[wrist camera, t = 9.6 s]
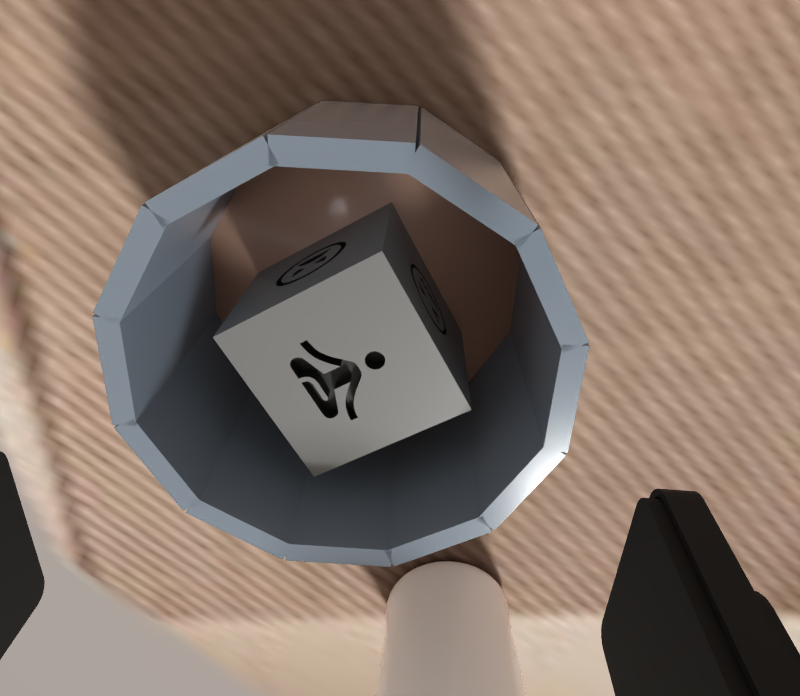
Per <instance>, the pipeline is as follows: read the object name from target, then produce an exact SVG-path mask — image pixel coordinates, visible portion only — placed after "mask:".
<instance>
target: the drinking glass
mask: <svg viewBox="0 0 800 696" xmlns="http://www.w3.org/2000/svg"><path fill="white" fill-rule="evenodd" d="M375 696H527V693H526V689H525V685H524V681H523V677H522V672H521V668H520V664H519V660H518V656H517V652H516V647H515V643H514V639H513V634H512V628H511V621H510V614H509V608H508V603H507V600H506V597H505V594H504V592H503V590H502V589H501V587H500V586H499V584H498V583H497V582H496V581H495V580H494V579H493V578H492V577H491V576H490V575H489V574H487V573H486V572H484V571H483V570H481V569H479V568H477V567H474V566H472V565H469V564H465V563H461V562H454V561H439V562H432V563H428V564H424V565H421V566H419V567H417V568H414V569H412V570H411V571H409V572H408V573H406V574H405V575H404V576H402V577H401V578H400V579H399V580H398V582H397V583H396V584H395V585H394V587H393V589H392V590H391V592H390V595H389V597H388V601H387V607H386V618H385V633H384V642H383V648H382V655H381V661H380V668H379V674H378V680H377V687H376V693H375Z"/></svg>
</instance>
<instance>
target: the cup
mask: <svg viewBox="0 0 800 696" xmlns="http://www.w3.org/2000/svg"><path fill="white" fill-rule="evenodd" d="M418 109H419V106H414V105H397V104H379V103H361V102H344V101H326V100H323V101H321V102H320V101H319V102H317V103H316V104H314V105H312V106H310V107H309V108H307V109H305V110H303V111H302V112H300V113H298V114H296V115H294V116H293V117H291V118H289V119H287V120H286V121H284V122H282V123H280V124H279V125H277V126H275V127H273V128H271V129H270V130H268V131H266V132H264V133H263V134H261V135H259V136H257V137H256V138H254V139H252V140H250V141H248V142H247V143H245V144H243V145H241V146H240V147H238V148H236V149H235V150H233V151H231V152H229V153H228V154H226V155H224V156H223V157H221V158H219V159H217V160H216V161H214V162H212V163H211V164H209V165H207V166H206V167H204V168H202V169H200V170H199V171H197V172H195V173H194V174H192V175H190V176H188V177H187V178H185V179H183V180H182V181H180V182H178V183H177V184H175V185H173V186H171V187H170V188H168V189H166V190H165V191H163V192H161V193H159V194H158V195H156V196H154V197H153V198H151V199H149V200H148V201H146V202H145V204H143V205H142V206H141V208H140V211H139V213H138V215H137V217H136V219H135V221H134V224H133V226H132V228H131V230H130V232H129V235H128V237H127V239H126V241H125V243H124V246H123V248H122V250H121V252H120V254H119V256H118V259H117V261H116V263H115V265H114V267H113V270H112V272H111V274H110V276H109V278H108V281H107V283H106V285H105V287H104V289H103V291H102V294H101V296H100V298H99V300H98V302H97V305H96V307H95V309H94V311H93V313H94V314H95V315H94V316H92V317H93V323H94V328H95V333H96V339H97V344H98V350H99V355H100V360H101V366H102V371H103V377H104V382H105V388H106V393H107V398H108V404H109V409H110V415H111V420H112V424H113V425H116V426H115V427H114V428H115V430H116V431H117V432H118V433H119V434H120V436H121V437H122V438H123V439H124V440H125V442H126V443H127V444H128V445H129V446H130V448H131V449H132V450H133V451H134V452H135V454H136V455H137V456H138V457H139V458H140V460H141V461H142V462H143V463H144V464H145V466H146V467H147V468H148V469H149V470H150V472H151V473H152V474H153V475H154V476H155V478H156V479H157V480H158V481H159V482H160V484H161V485H162V486H163V487H164V488H165V490H166V491H167V492H168V493H169V494H170V496H171V497H172V498H173V499H174V500H175V502H176V503H177V504H178V505H179V506H180V508H181V509H182V510H186V509H188V510H187V512H186V513H187V514H189V515H192V516H194V517H196V518H198V519H200V520H202V521H204V522H206V523H208V524H210V525H212V526H214V527H216V528H218V529H220V530H222V531H225V532H227V533H229V534H231V535H233V536H235V537H237V538H239V539H241V540H243V541H245V542H247V543H249V544H251V545H253V546H256V547H258V548H260V549H262V550H264V551H266V552H268V553H270V554H272V555H274V556H276V557H278V558H280V559H283V558H284V556H286V560H288V561H304V562H320V563H336V564H352V565H367V566H383V567H391V562H392V564H393V565H394V566H397V565H400V564H403V563H406V562H408V561H411V560H414V559H417V558H420V557H423V556H425V555H428V554H431V553H434V552H437V551H439V550H442V549H445V548H448V547H451V546H454V545H456V544H459V543H462V542H465V541H468V540H470V539H473V538H476V537H479V536H482V535H485V534H487V533H490V532H492V529H494V530H495V529H496V528H497V527H498V526H499V525H500V524H501V523H502V522H503V521H504V520H505V519H506V518H507V517H508V516H509V515H510V514H511V513H512V511H513V510H514V509H515V508H516V507H517V506H518V505H519V504H520V503H521V502H522V501H523V500H524V499H525V498H526V497H527V496H528V495H529V494H530V493H531V492H532V490H533V489H534V488H535V487H536V486H537V485H538V484H539V483H540V482H541V481H542V480H543V479H544V478H545V477H546V476H547V475H548V474H549V473H550V472H551V471H552V469H553V468H554V467H555V466H556V465H557V464H558V463H559V462H560V461H561V460H562V459H563V458H564V457H565V456H566V454H565V452H568V448H569V443H570V438H571V433H572V428H573V423H574V419H575V414H576V409H577V404H578V399H579V394H580V389H581V385H582V380H583V375H584V370H585V365H586V360H587V355H588V351H589V345H588V343H589V341H588V339H587V336H586V334H585V332H584V329H583V327H582V324H581V322H580V320H579V317H578V315H577V313H576V310H575V308H574V306H573V303H572V301H571V298H570V296H569V294H568V291H567V289H566V287H565V284H564V282H563V279H562V277H561V275H560V272H559V270H558V268H557V265H556V263H555V261H554V258H553V256H552V253H551V251H550V249H549V246H548V244H547V242H546V239H545V237H544V234H543V232H542V230H541V228H540V226H539V224H538V223H537V221H536V220H535V218H534V216H533V215H532V213H531V211H530V210H529V208H528V207H527V205H526V203H525V202H524V200H523V198H522V197H521V195H520V193H519V192H518V190H517V189H516V187H515V185H514V184H513V182H512V180H511V179H510V177H509V176H508V174H507V172H506V171H505V169H504V167H503V166H502V164H501V163H500V162H499V160H497V159H496V158H494V157H493V156H491V155H490V154H489V153H487V152H486V151H484V150H483V149H481V148H480V147H479V146H477V145H476V144H474V143H473V142H471V141H470V140H469V139H467V138H466V137H464V136H463V135H461V134H460V133H458V132H457V131H456V130H454V129H453V128H451V127H450V126H448V125H447V124H446V123H444V122H443V121H441V120H440V119H438V118H437V117H436V116H434V115H433V114H431V113H430V112H428V111H427V110H426V109H424V108H423V107H421V109H420V110H419V112H418ZM391 202H392V204H393V205H394V207H395V209H396V211H397V213H398V215H399V217H400V218H401V220H402V222H403V224H404V226H405V228H406V230H407V231H408V233H409V235H410V237H411V239H412V241H413V243H414V244H415V246H416V248H417V250H418V252H419V254H420V256H421V257H422V259H423V261H424V263H425V265H426V267H427V269H428V270H429V272H430V274H431V276H432V278H433V280H434V282H435V283H436V285H437V287H438V289H439V291H440V293H441V295H442V296H443V298H444V300H445V302H446V304H447V306H448V308H449V309H450V311H451V313H452V315H453V317H454V319H455V321H456V322H457V324H458V326H459V328H460V330H461V332H462V339H463V347H464V354H465V362H466V370H467V378H468V385H469V393H470V401H471V409H472V410H470V411H468V412H465V413H463V414H460V415H458V416H456V417H453V418H451V419H449V420H446V421H444V422H442V423H439V424H437V425H435V426H432V427H430V428H428V429H425V430H423V431H421V432H418V433H416V434H413V435H411V436H409V437H406V438H404V439H402V440H399V441H397V442H395V443H392V444H390V445H388V446H385V447H383V448H381V449H378V450H376V451H374V452H371V453H369V454H367V455H364V456H362V457H359V458H357V459H355V460H352V461H350V462H348V463H345V464H343V465H341V466H338V467H336V468H334V469H331V470H329V471H327V472H324V473H322V474H320V475H317V476H315V477H314V476H313V475H312V473H311V472H310V471H309V469H308V468H307V466H306V465H305V464H304V462H303V461H302V460H301V458H300V457H299V455H298V454H297V453H296V451H295V450H294V449H293V447H292V446H291V444H290V443H289V442H288V440H287V439H286V438H285V436H284V435H283V433H282V432H281V431H280V429H279V428H278V427H277V425H276V424H275V422H274V421H273V420H272V418H271V417H270V416H269V414H268V413H267V411H266V410H265V409H264V407H263V406H262V405H261V403H260V402H259V400H258V399H257V398H256V396H255V395H254V394H253V392H252V391H251V389H250V388H249V387H248V385H247V384H246V383H245V381H244V380H243V378H242V377H241V376H240V374H239V373H238V372H237V370H236V369H235V367H234V366H233V365H232V363H231V362H230V361H229V359H228V358H227V356H226V355H225V354H224V352H223V351H222V350H221V348H220V347H219V345H218V344H217V343H216V341H215V340H214V339H213V336H214V335H215V333H216V332H217V331H218V329H219V328H220V326H221V325H222V323H223V322H224V321H225V319H226V318H227V316H228V315H229V314H230V312H231V311H232V309H233V308H234V307H235V305H236V304H237V302H238V301H239V299H240V298H241V297H242V295H243V294H244V292H245V291H246V290H247V288H248V287H249V285H250V284H251V283H252V281H253V280H254V278H255V277H256V275H257V274H258V273H259V272H261V271H262V270H264V269H266V268H268V267H270V266H272V265H274V264H276V263H278V262H279V261H281V260H283V259H285V258H287V257H289V256H291V255H293V254H295V253H296V252H298V251H300V250H302V249H304V248H306V247H308V246H310V245H312V244H313V243H315V242H317V241H319V240H321V239H323V238H325V237H327V236H328V235H330V234H332V233H334V232H336V231H338V230H340V229H342V228H344V227H345V226H347V225H349V224H351V223H353V222H355V221H357V220H359V219H361V218H362V217H364V216H366V215H368V214H370V213H372V212H374V211H376V210H378V209H379V208H381V207H383V206H385V205H387V204H389V203H391ZM491 528H492V529H491Z"/></svg>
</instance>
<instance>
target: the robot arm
mask: <svg viewBox="0 0 800 696" xmlns="http://www.w3.org/2000/svg"><path fill="white" fill-rule="evenodd" d="M43 590H44V576H43V573H42V570H41V567H40V563H39V560H38V557H37V553H36V550H35V547H34V544H33V540H32V537H31V534H30V531H29V528H28V524H27V521H26V518H25V514H24V511H23V508H22V505H21V501H20V498H19V495H18V492H17V488H16V485H15V482H14V479H13V475H12V472H11V469H10V466H9V462H8V459H7V457H6V455H5V454H4V453H3V452H0V659H1V658H2V656H3V655H4V653H5V652H6V650H7V649H8V647H9V646H10V645H11V643H12V642H13V640H14V639H15V637H16V636H17V634H18V633H19V631H20V630H21V628H22V627H23V625H24V624H25V623H26V621H27V620H28V618H29V617H30V615H31V613H32V612H33V611H34V609H35V608H36V606H37V605H38V603H39V601H40V599H41V597H42V594H43ZM601 638H602V645H603V650H604V654H605V658H606V662H607V665H608V669H609V673H610V677H611V681H612V685H613V688H614V692H615V696H800V654H799V652H798V651H797V649H796V647H795V645H794V644H793V642H792V640H791V638H790V637H789V635H788V633H787V631H786V630H785V628H784V626H783V624H782V623H781V621H780V619H779V617H778V616H777V614H776V612H775V610H774V608H773V607H772V606H771V604H770V603H769V602H768V600H767V599H766V598H765V597H764V596H763V595H761V594H760V593H759V592H757V591H754V590H753V588H752V586H751V584H750V582H749V580H748V579H747V577H746V575H745V573H744V571H743V570H742V568H741V566H740V564H739V562H738V561H737V559H736V557H735V555H734V553H733V552H732V550H731V548H730V546H729V544H728V543H727V541H726V539H725V537H724V535H723V533H722V532H721V530H720V528H719V526H718V524H717V523H716V521H715V519H714V517H713V515H712V514H711V512H710V510H709V508H708V506H707V505H706V503H705V501H704V499H703V498H702V496H701V495H700V494H699V493H697V492H695V491H681V490H668V489H655V490H654V491H653V492H652V493H651V495H650V497H649V498H641V499H640V500H639V501H638V503H637V506H636V509H635V513H634V516H633V519H632V523H631V526H630V530H629V533H628V536H627V540H626V543H625V546H624V550H623V553H622V557H621V560H620V563H619V567H618V570H617V574H616V577H615V580H614V584H613V587H612V590H611V594H610V597H609V601H608V604H607V607H606V611H605V614H604V618H603V621H602V629H601Z"/></svg>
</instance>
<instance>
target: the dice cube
mask: <svg viewBox="0 0 800 696" xmlns="http://www.w3.org/2000/svg"><path fill="white" fill-rule="evenodd" d="M213 339H214V340H215V341H216V343H217V344H218V345H219V347H220V348H221V350H222V351H223V352H224V354H225V355H226V356H227V358H228V359H229V361H230V362H231V363H232V365H233V366H234V367H235V369H236V370H237V372H238V373H239V374H240V376H241V377H242V378H243V380H244V381H245V383H246V384H247V385H248V387H249V388H250V389H251V391H252V392H253V394H254V395H255V396H256V398H257V399H258V400H259V402H260V403H261V405H262V406H263V407H264V409H265V410H266V411H267V413H268V414H269V416H270V417H271V418H272V420H273V421H274V422H275V424H276V425H277V427H278V428H279V429H280V431H281V432H282V433H283V435H284V436H285V438H286V439H287V440H288V442H289V443H290V444H291V446H292V447H293V449H294V450H295V451H296V453H297V454H298V455H299V457H300V458H301V460H302V461H303V462H304V464H305V465H306V466H307V468H308V469H309V471H310V472H311V473H312V475H313V476H314V477H315V476H317V475H320V474H322V473H324V472H327V471H329V470H331V469H334V468H336V467H338V466H341V465H343V464H345V463H348V462H350V461H352V460H355V459H357V458H359V457H362V456H364V455H367V454H369V453H371V452H374V451H376V450H378V449H381V448H383V447H385V446H388V445H390V444H392V443H395V442H397V441H399V440H402V439H404V438H406V437H409V436H411V435H413V434H416V433H418V432H421V431H423V430H425V429H428V428H430V427H432V426H435V425H437V424H439V423H442V422H444V421H446V420H449V419H451V418H453V417H456V416H458V415H460V414H463V413H465V412H468V411H470V410H472V409H471V401H470V393H469V385H468V378H467V370H466V362H465V354H464V347H463V339H462V332H461V330H460V328H459V326H458V324H457V322H456V321H455V319H454V317H453V315H452V313H451V311H450V309H449V308H448V306H447V304H446V302H445V300H444V298H443V296H442V295H441V293H440V291H439V289H438V287H437V285H436V283H435V282H434V280H433V278H432V276H431V274H430V272H429V270H428V269H427V267H426V265H425V263H424V261H423V259H422V257H421V256H420V254H419V252H418V250H417V248H416V246H415V244H414V243H413V241H412V239H411V237H410V235H409V233H408V231H407V230H406V228H405V226H404V224H403V222H402V220H401V218H400V217H399V215H398V213H397V211H396V209H395V207H394V205H393V204H392V202H391V203H389V204H387V205H385V206H383V207H381V208H379V209H378V210H376V211H374V212H372V213H370V214H368V215H366V216H364V217H362V218H361V219H359V220H357V221H355V222H353V223H351V224H349V225H347V226H345V227H344V228H342V229H340V230H338V231H336V232H334V233H332V234H330V235H328V236H327V237H325V238H323V239H321V240H319V241H317V242H315V243H313V244H312V245H310V246H308V247H306V248H304V249H302V250H300V251H298V252H296V253H295V254H293V255H291V256H289V257H287V258H285V259H283V260H281V261H279V262H278V263H276V264H274V265H272V266H270V267H268V268H266V269H264V270H262V271H261V272H259V273H258V274H257V275H256V277H255V278H254V280H253V281H252V283H251V284H250V285H249V287H248V288H247V290H246V291H245V292H244V294H243V295H242V297H241V298H240V299H239V301H238V302H237V304H236V305H235V307H234V308H233V309H232V311H231V312H230V314H229V315H228V316H227V318H226V319H225V321H224V322H223V323H222V325H221V326H220V328H219V329H218V331H217V332H216V333H215V335H214V336H213Z"/></svg>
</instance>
